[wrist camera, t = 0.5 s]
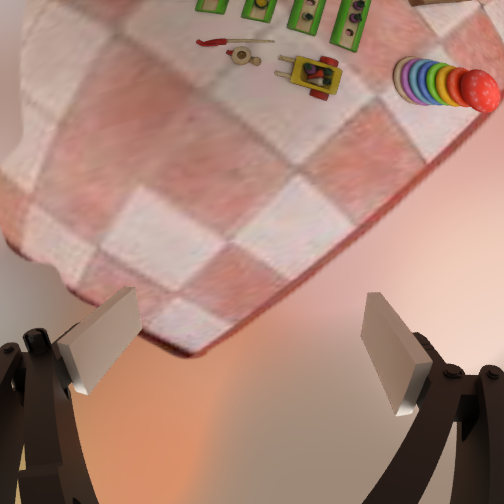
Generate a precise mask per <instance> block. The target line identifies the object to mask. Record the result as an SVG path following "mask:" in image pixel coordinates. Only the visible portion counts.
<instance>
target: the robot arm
mask: <svg viewBox="0 0 504 504" xmlns="http://www.w3.org/2000/svg"><path fill="white" fill-rule="evenodd" d="M141 329H142V324H141V318H140V313H139V307H138V301H137V295H136V289H135V287H125V286H124V287H123V288H122V289H121V290H119V291H118V292H117V293H115V294H114V295H113V296H112V297H110V298H109V299H108V300H107V301H105V302H104V303H103V304H102V305H101V306H99V307H98V308H97V309H96V310H94V311H93V312H92V313H91V314H90V315H88V316H87V317H86V318H85V319H83V321H81V322H79V323H77V324H75V325H74V326H72V327H71V328H70V329H69V330H68V331H66V332H65V334H63V335H62V336H60V337H59V338H58V339H57V340H56V341H55V342H53V343H52V344H51V343H50V340H49V337H48V334H47V331H46V330H45V329H44V328H35V329H31V330H29V331H27V332H26V333H25V334H24V335H23V339H24V342H25V345H26V347H27V350H28V352H21V350H20V347H19V345H18V344H17V343H7V344H4V345H3V346H2V347H1V348H0V504H15V497H16V488H17V480H18V483H19V491H20V498H21V504H99V503H98V500H97V498H96V495H95V492H94V489H93V486H92V484H91V480H90V477H89V474H88V470H87V468H86V464H85V460H84V457H83V453H82V449H81V445H80V441H79V437H78V432H77V427H76V422H75V417H74V411H73V405H72V399H71V393H70V390H69V388H68V385H69V384H70V383H71V382H72V383H73V385H74V388H75V390H76V391H77V392H79V393H83V394H86V395H89V394H90V392H91V391H92V390H93V389H94V387H95V386H96V385H97V384H98V382H99V381H100V380H101V378H102V377H103V376H104V375H105V374H106V372H107V371H108V370H109V369H110V367H111V366H112V365H113V364H114V362H115V361H116V360H117V359H118V357H119V356H120V355H121V354H122V352H123V351H124V350H125V349H126V348H127V346H128V345H129V344H130V343H131V341H132V340H133V339H134V338H135V337H136V335H137V334H138V333H139V332H140V331H141ZM361 338H362V340H363V342H364V344H365V347H366V349H367V351H368V353H369V355H370V358H371V360H372V362H373V364H374V367H375V369H376V371H377V373H378V376H379V378H380V380H381V383H382V385H383V387H384V389H385V392H386V394H387V396H388V399H389V401H390V404H391V406H392V409H393V411H394V413H395V416H401V415H407V414H411V413H412V412H413V409H414V407H415V405H416V404H417V406H418V408H419V412H418V414H417V416H416V418H415V420H414V422H413V424H412V426H411V428H410V430H409V432H408V433H407V435H406V437H405V439H404V441H403V442H402V444H401V446H400V448H399V450H398V451H397V453H396V455H395V456H394V458H393V459H392V461H391V463H390V464H389V466H388V467H387V469H386V470H385V472H384V473H383V475H382V477H381V478H380V479H379V481H378V482H377V484H376V485H375V487H374V488H373V489H372V491H371V492H370V493H369V495H368V496H367V498H366V499H365V500H364V501H363V503H362V504H418V502H419V500H420V499H421V497H422V495H423V493H424V491H425V489H426V487H427V485H428V483H429V481H430V479H431V477H432V474H433V472H434V470H435V468H436V466H437V463H438V461H439V459H440V456H441V454H442V451H443V449H444V446H445V443H446V441H447V438H448V435H449V433H450V430H451V427H452V424H453V422H457V442H456V443H457V444H456V459H455V471H454V479H453V487H452V494H451V500H450V504H504V372H503V371H502V370H501V369H500V368H499V367H497V366H495V365H494V366H493V365H485V366H483V367H482V368H481V370H480V372H479V375H465V372H464V371H463V369H461V368H460V367H459V366H456V365H454V364H446V363H445V362H444V360H443V359H442V357H441V356H440V355H439V354H438V352H437V351H436V350H435V349H434V347H433V346H432V345H431V344H430V342H429V341H428V340H427V338H426V337H425V336H423V335H422V334H420V333H418V332H415V333H412V332H411V331H410V330H409V328H408V327H407V326H406V324H405V323H404V322H403V321H402V319H401V318H400V317H399V315H398V314H397V313H396V312H395V310H394V309H393V308H392V307H391V305H390V304H389V303H388V301H387V300H386V299H385V298H384V297H383V295H382V294H381V293H380V292H377V293H376V292H375V293H367V300H366V306H365V313H364V319H363V325H362V330H361ZM11 382H12V384H13V386H14V388H12V384H11ZM23 445H24V446H25V461H26V470H20V471H19V466H20V461H21V455H22V449H23Z"/></svg>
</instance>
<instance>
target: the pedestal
mask: <svg viewBox="0 0 504 504" xmlns="http://www.w3.org/2000/svg"><path fill="white" fill-rule="evenodd" d="M462 1H471V0H409V2H410V4H411V6H419V5H427V4H437V3H450V2H462Z"/></svg>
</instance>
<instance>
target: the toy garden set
mask: <svg viewBox="0 0 504 504" xmlns="http://www.w3.org/2000/svg"><path fill="white" fill-rule="evenodd" d="M228 1H229V0H198V2H197V5H196V8H195V10H196V11H200V12H209V13H216V14H225V10H226V7H227V4H228ZM306 1H311V2H312V3H313V6H310V5H308V4H307V2H306ZM276 2H277V0H246V2H245V5H244V9H243V12H242V15H241V18H246V19H251V20H256V21H261V22H265V23H270V21H271V18H272V15H273V12H274V8H275V5H276ZM325 2H326V0H295V2H294V5H293V8H292V12H291V15H290V18H289V21H288V25H287V28H288V29H292V30H295V31H299V32H302V33H305V34H308V35H312V36H316V33H317V29H318V26H319V23H320V19H321V16H322V12H323V9H324V6H325ZM370 3H371V0H342V2H341V5H340V8H339V12H338V15H337V19H336V22H335V25H334V29H333V32H332V36H331V39H330V43H331V44H334V45H337V46H339V47H342V48H345V49H347V50H350V51H352V52H354V53H355V52H357V49H358V46H359V42H360V39H361V36H362V32H363V29H364V25H365V22H366V18H367V14H368V11H369V7H370ZM346 30H348V31H349V32H350V33H351V35H350V36H348V35H347V34H346V33H345V31H346ZM237 42H275V41H271V40H254V39H214V40H209V41H205V42H203V41H201V40H197V41H196V43H197V44H199V45H201V46H218V45H226V44H227V43H237ZM226 54H228V55H231V56H232V60H233V61H234V62H235V63H236V64H239V65H244V64H246V63H248V62H250V63H252V64H254V65H255V66H258V65H260V64H261V59H260V58H259V57H251V53H250V51H249V49H247V48H246V47H237V48H235V49H234V51H229V50H227V52H226ZM279 59H280V60H284V61H288V62H292V63H295V65H294V68H293V72H292V75H290V74H287V73H283V72H279V71H276V72H275V75H278V76H282V77H286V78H290V79H291V80H290V82H292V83H295V84H298V85H300V86H304V87H308V88H311V89H312V90H311V93H310V96H314V97H317V98H320V99H323V100H325V101H327V99H328V96H329V94H332V95H335V94H336V92H337V89H338V86H339V82H340V79H341V75H342V70H341V69H339V68H337V66H338V61H337V60H335V59H332V58H329V57H324V56H322V57H321V59H320V62H318V61H315V60H311V59H308V58H304V57H301V56H297V57H296V59H292V58H288V57H284V56H281V55H280V58H279ZM324 92H325V93H324ZM327 93H328V94H327Z"/></svg>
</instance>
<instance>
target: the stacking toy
mask: <svg viewBox="0 0 504 504" xmlns="http://www.w3.org/2000/svg"><path fill="white" fill-rule="evenodd" d="M394 82H395V86H396V88H397V90H398V92H399V93H400V95H401V96H402V97H403V98H404V99H405V100H407V101H408V102H410V103H412V104H416V105H450V106H454V107H459V106H462V107H472V108H473V109H475V110H476V111H479V112H482V113H488V112H492V111H494V110H495V109H496V108H497V107H498V105H499V102H500V90H499V87H498V85H497V83H496V81H495V80H494V79H493V77H492V76H490V75H489V74H488V73H486V72H484V71H482V70H477V69H475V70H470V71H468V70H467V69H464V68H457V67H454V66H450V65H448V64H446V63H440V62H436V61H432V60H429V59H421V58H418V57H406V58H404V59H402V60H401V61H400V62H399V63H398V64H397V66H396V68H395V71H394Z"/></svg>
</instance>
